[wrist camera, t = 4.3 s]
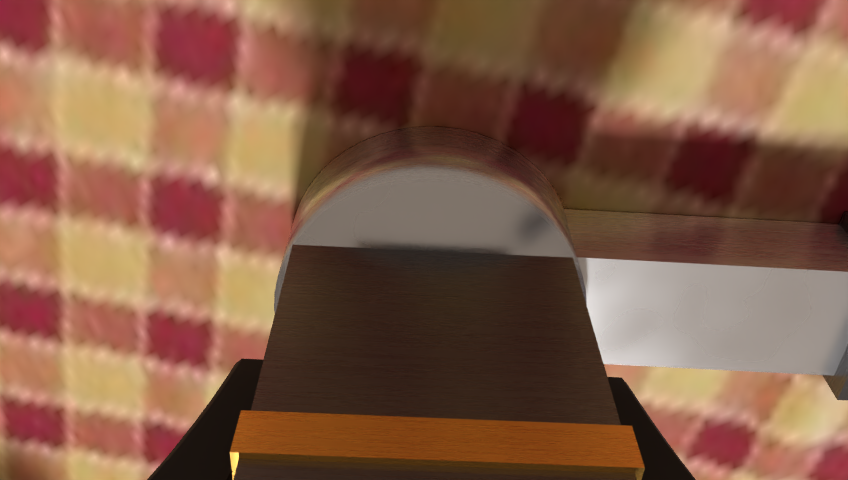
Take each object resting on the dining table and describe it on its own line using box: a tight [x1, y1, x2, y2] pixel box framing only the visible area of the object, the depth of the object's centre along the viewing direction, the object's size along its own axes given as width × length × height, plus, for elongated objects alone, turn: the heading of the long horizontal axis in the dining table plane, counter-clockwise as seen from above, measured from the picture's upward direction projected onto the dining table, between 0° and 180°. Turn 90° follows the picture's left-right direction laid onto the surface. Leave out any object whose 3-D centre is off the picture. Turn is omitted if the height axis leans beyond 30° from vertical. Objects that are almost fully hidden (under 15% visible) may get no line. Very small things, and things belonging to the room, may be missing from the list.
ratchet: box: [274, 127, 848, 400], centre depth 15 cm, size 18×6×5 cm, turn 87°
